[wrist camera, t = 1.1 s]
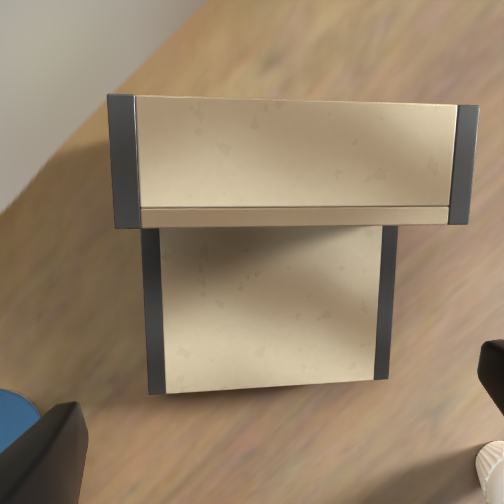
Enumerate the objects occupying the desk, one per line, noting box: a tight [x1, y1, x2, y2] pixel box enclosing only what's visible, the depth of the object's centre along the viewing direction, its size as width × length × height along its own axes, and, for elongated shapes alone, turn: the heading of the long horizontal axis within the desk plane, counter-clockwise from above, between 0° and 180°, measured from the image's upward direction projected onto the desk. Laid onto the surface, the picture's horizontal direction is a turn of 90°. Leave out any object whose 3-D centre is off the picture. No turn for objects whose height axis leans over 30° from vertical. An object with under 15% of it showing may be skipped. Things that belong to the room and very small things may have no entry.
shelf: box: [107, 94, 480, 395], centre depth 20 cm, size 16×15×9 cm
